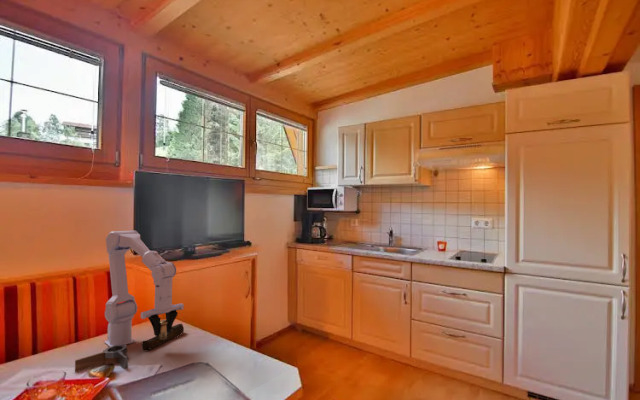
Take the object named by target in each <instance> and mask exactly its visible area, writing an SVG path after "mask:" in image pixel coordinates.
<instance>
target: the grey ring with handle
mask: <svg viewBox="0 0 640 400" xmlns="http://www.w3.org/2000/svg"><path fill="white" fill-rule="evenodd" d="M104 351H105V354H104V358H115V357H117V362H116V363H117V364H118V365H119V366H120V367H121V368H123V369H124V370H127V369H128V368H129V357H128V356H126V355H124V354H125V353H126V352H127V353H128V346H127V345H115V346H111V347H109V346H108V347H106V348H105V349H103V350H102V352H104Z"/></svg>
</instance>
